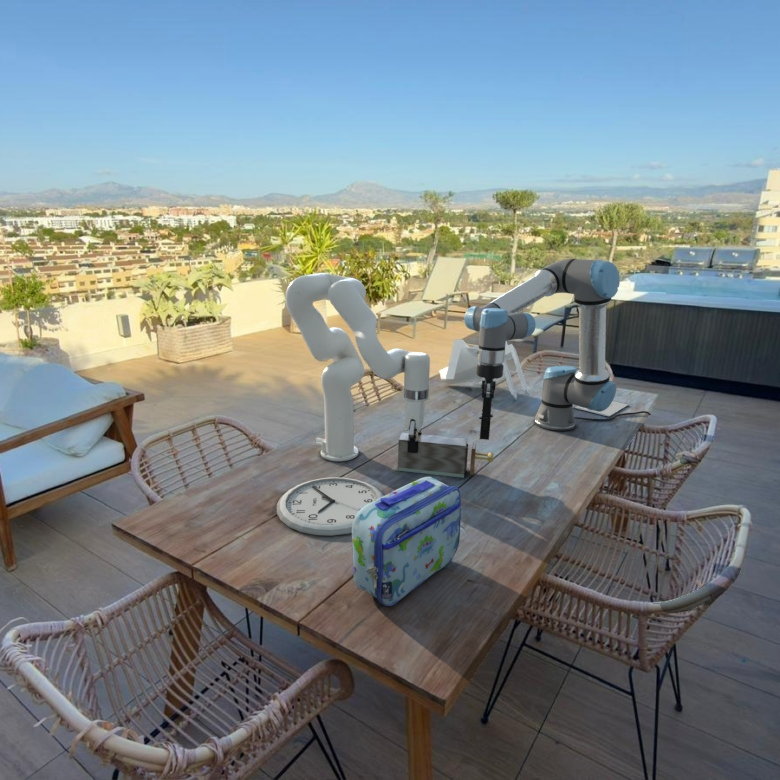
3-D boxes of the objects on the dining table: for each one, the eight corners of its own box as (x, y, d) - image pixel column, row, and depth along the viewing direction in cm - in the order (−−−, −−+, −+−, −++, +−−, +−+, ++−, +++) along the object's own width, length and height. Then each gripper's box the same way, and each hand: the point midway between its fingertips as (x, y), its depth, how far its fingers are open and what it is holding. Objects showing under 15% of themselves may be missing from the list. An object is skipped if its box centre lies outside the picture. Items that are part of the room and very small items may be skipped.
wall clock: (392, 527, 129) (268, 531, 127) (391, 533, 130) (269, 537, 127) (383, 473, 158) (282, 475, 155) (383, 478, 158) (282, 480, 156)
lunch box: (381, 619, 101) (382, 525, 95) (345, 592, 109) (344, 503, 102) (464, 563, 119) (469, 480, 113) (428, 543, 126) (432, 464, 120)
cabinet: (465, 469, 166) (467, 438, 162) (463, 477, 160) (466, 446, 157) (401, 462, 169) (402, 432, 166) (397, 470, 164) (398, 439, 161)
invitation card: (608, 416, 214) (573, 407, 224) (608, 416, 214) (573, 408, 224) (628, 404, 229) (594, 396, 238) (628, 405, 229) (594, 397, 238)
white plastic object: (461, 429, 252) (437, 405, 227) (444, 352, 274) (420, 323, 250) (535, 404, 240) (518, 377, 215) (510, 326, 262) (492, 293, 237)
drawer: (491, 470, 163) (494, 444, 161) (491, 477, 159) (493, 450, 156) (412, 462, 168) (413, 436, 165) (410, 468, 163) (411, 442, 161)
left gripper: (408, 384, 167) (407, 436, 172) (398, 401, 151) (397, 458, 156) (432, 386, 166) (429, 438, 171) (424, 403, 150) (422, 460, 155)
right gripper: (478, 356, 158) (472, 429, 165) (476, 367, 146) (470, 445, 153) (503, 358, 156) (497, 431, 163) (503, 369, 144) (496, 448, 151)
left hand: (414, 447), depth 164 cm, fingers closed on cabinet, 6 cm apart
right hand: (484, 438), depth 158 cm, fingers closed
